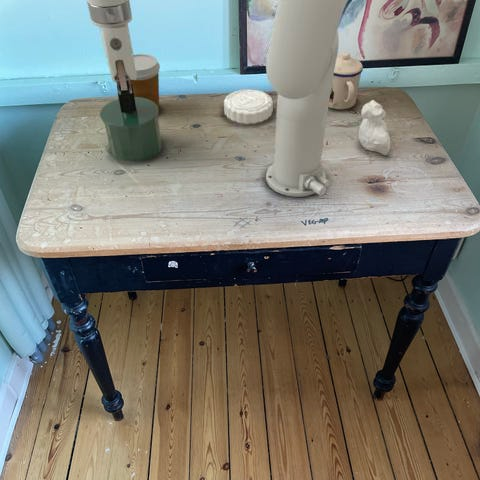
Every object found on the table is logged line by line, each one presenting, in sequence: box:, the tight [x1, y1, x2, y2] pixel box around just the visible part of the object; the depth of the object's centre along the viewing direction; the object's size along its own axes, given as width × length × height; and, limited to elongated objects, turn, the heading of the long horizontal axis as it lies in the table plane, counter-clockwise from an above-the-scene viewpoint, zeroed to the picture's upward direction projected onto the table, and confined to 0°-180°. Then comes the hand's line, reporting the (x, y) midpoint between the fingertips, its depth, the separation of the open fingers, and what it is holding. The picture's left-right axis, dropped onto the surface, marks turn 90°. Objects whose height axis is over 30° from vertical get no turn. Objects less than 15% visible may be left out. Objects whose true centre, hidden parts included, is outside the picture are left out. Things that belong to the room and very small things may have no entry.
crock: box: [104, 115, 163, 163], centre depth 109 cm, size 11×11×8 cm
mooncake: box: [223, 88, 274, 125], centre depth 120 cm, size 12×12×4 cm
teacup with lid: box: [328, 51, 364, 110], centre depth 120 cm, size 12×9×12 cm
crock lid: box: [99, 83, 160, 129], centre depth 103 cm, size 12×12×7 cm
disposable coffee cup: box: [130, 53, 161, 111], centre depth 118 cm, size 10×10×12 cm
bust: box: [358, 99, 391, 156], centre depth 108 cm, size 12×8×11 cm
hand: (128, 106), depth 104 cm, fingers closed on crock lid, 2 cm apart
